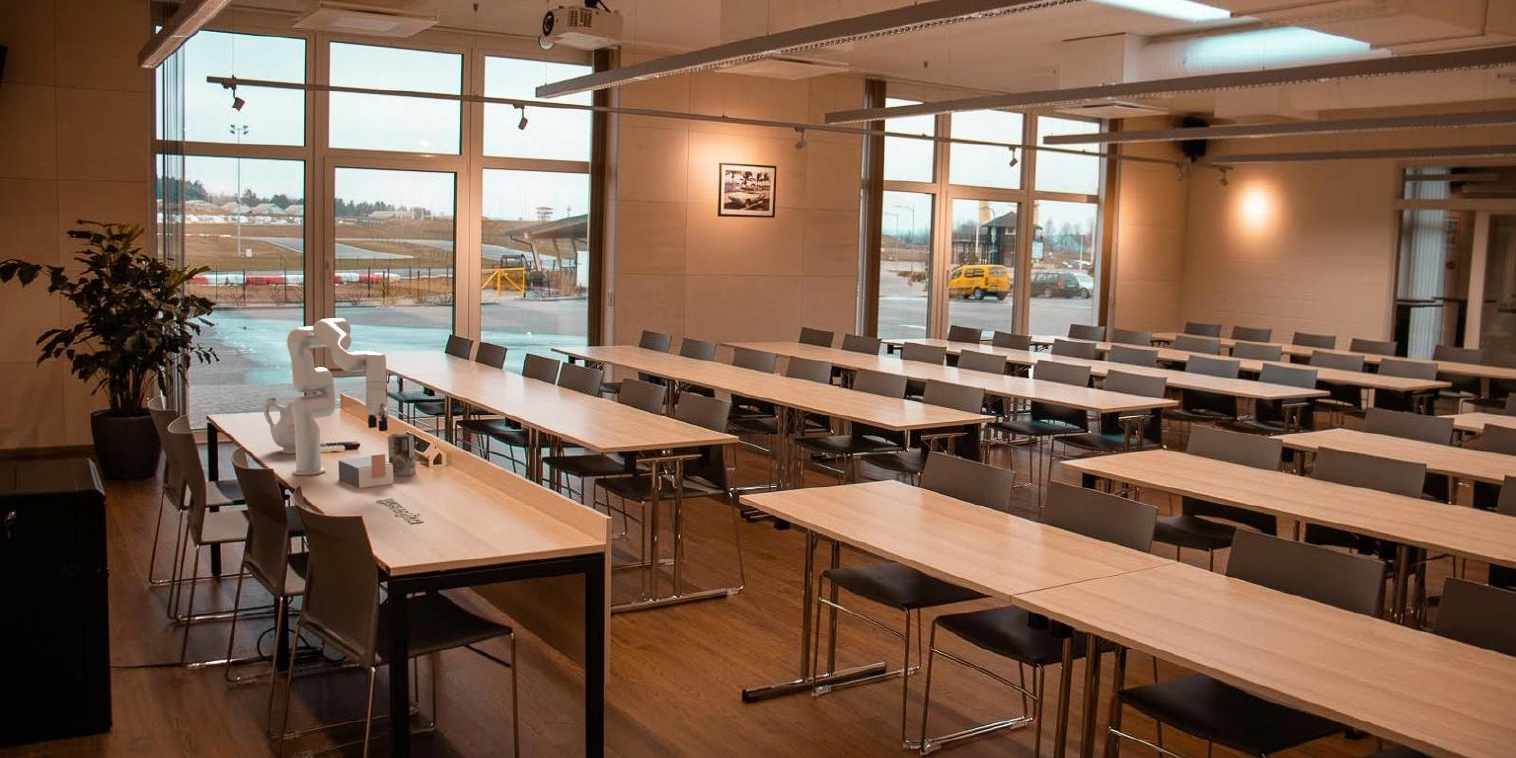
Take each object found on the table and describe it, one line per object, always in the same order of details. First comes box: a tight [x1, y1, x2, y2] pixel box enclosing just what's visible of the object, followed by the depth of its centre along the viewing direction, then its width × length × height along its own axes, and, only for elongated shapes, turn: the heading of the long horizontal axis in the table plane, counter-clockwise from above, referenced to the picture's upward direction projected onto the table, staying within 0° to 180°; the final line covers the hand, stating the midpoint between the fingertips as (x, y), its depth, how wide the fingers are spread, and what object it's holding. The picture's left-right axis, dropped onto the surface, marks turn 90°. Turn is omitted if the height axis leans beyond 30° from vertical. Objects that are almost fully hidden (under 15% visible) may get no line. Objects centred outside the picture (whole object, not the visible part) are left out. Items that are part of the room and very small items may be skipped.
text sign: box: [375, 498, 425, 524], centre depth 428 cm, size 40×1×8 cm
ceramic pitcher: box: [263, 397, 296, 455], centre depth 534 cm, size 22×20×25 cm
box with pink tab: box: [358, 453, 394, 489], centre depth 472 cm, size 21×14×13 cm, turn 41°
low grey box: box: [337, 456, 392, 489], centre depth 475 cm, size 19×14×8 cm
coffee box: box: [387, 433, 417, 476], centre depth 490 cm, size 9×6×16 cm
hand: (377, 429), depth 463 cm, fingers open, 9 cm apart
